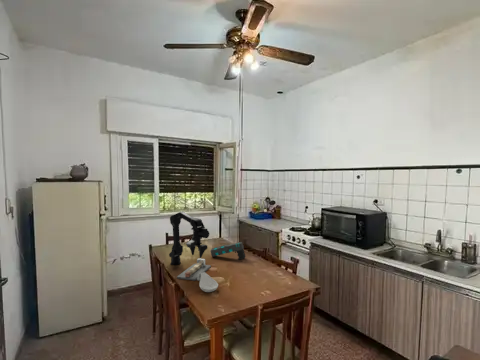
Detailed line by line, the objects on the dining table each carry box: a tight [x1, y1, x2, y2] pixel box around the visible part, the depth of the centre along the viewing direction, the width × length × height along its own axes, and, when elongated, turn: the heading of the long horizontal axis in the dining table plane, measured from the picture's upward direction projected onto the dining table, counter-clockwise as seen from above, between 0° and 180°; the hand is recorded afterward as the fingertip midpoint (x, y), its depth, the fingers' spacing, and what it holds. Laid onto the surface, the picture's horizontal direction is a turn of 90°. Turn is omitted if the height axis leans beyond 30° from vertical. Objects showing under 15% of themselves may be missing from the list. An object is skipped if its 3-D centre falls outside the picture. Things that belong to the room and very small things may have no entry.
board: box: [176, 263, 212, 281], centre depth 194 cm, size 14×28×1 cm, turn 164°
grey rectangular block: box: [196, 257, 206, 266], centre depth 204 cm, size 3×6×5 cm, turn 74°
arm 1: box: [185, 262, 201, 277], centre depth 192 cm, size 22×1×2 cm, turn 165°
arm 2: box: [187, 262, 203, 277], centre depth 191 cm, size 22×1×2 cm, turn 163°
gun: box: [209, 241, 247, 261], centre depth 228 cm, size 7×29×15 cm, turn 76°
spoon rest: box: [196, 272, 219, 293], centre depth 169 cm, size 24×12×7 cm, turn 27°
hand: (196, 256), depth 196 cm, fingers open, 9 cm apart
